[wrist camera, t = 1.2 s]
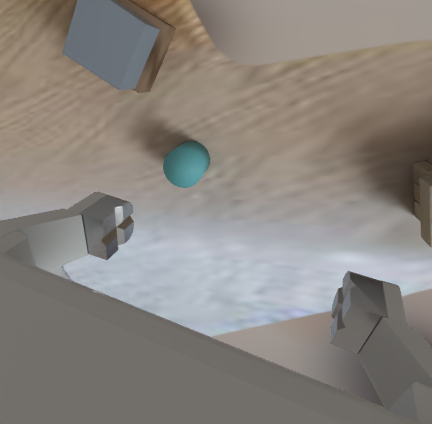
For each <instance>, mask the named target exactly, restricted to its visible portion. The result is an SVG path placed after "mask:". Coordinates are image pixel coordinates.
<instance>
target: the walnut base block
mask: <svg viewBox="0 0 432 424" xmlns="http://www.w3.org/2000/svg"><path fill="white" fill-rule="evenodd" d="M117 1H118V2H120V3H121V4H123V5H124V6H125V7H127V8H128V9H130V10H131V11H133V12H134V13H136V14H137V15H139V16H140V17H142V18H143V19H145V20H146V21H148V22H149V23H151V24H152V25H154V26H155V27H157V28H158V29H160V31H159V33H158V35H157V38H156V40H155V42H154V45H153V47H152V50H151V52H150V54H149V57H148V59H147V61H146V64H145V66H144V68H143V71H142V73H141V76H140V78H139V80H138V83H137V85H136V87H135V89H133V90H135V91H136V92H138V93H142V92H150V90H151V88H152V86H153V83H154V81H155V78H156V76H157V74H158V71H159V69H160V66H161V64H162V62H163V59H164V57H165V54H166V52H167V49H168V47H169V45H170V42H171V40H172V37H173V35H174V33H175V30H176V29H175V28H174V27H172V26H171V25H169V24H168V23H166V22H164V21H163V20H161V19H160V18H158V17H157V16H155V15H153V14H152V13H150V12H149V11H147V10H145V9H144V8H142V7H141V6H139V5H138V4H136V3H134V2H133V1H131V0H117Z"/></svg>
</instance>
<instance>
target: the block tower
mask: <svg viewBox="0 0 432 424" xmlns="http://www.w3.org/2000/svg"><path fill="white" fill-rule="evenodd" d="M412 167H413V181H414V199H415V200H416V201H415V202H414V205H415V217H416V218H417V219H419V220H420V221H421V237H422V238H423V239H424V241H425V242H426V243H427V244H428V245H429V246H430V247H432V159H429V160H426V161H421V162H416V163H413V164H412Z"/></svg>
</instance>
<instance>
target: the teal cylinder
mask: <svg viewBox="0 0 432 424" xmlns="http://www.w3.org/2000/svg"><path fill="white" fill-rule="evenodd" d="M209 163H210V157H209V153H208V151H207V149H206V148H205V147H204V146H203V145H202V144H200V143H198V142H196V141H187V142H184V143H182V144H181V145H180V146H178V147H177V148H175V149H174V150H173V151H171V152H170V153H169V154H168V155H167V156H166V158H165V160H164V164H163V169H164V173H165V175H166V177H167V179H168V180H169V181H170V182H171V183H172V184H174V185H176V186H178V187H182V188H187V187H191V186H193V185H195V184H196V183H197V182H198V181H199V179H200V178H201V177H202V175H203V174H204V173H205V171H206V170H207V168H208V166H209Z"/></svg>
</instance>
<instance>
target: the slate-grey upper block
mask: <svg viewBox="0 0 432 424" xmlns="http://www.w3.org/2000/svg"><path fill="white" fill-rule="evenodd" d="M159 31H160V29H158V28H157V27H155V26H154V25H152V24H151V23H149V22H148V21H146V20H145V19H143V18H142V17H140V16H139V15H137V14H136V13H134V12H133V11H131V10H130V9H128V8H127V7H125V6H124V5H123V4H121V3H120V2H118V1H117V0H77V3H76V7H75V10H74V14H73V17H72V21H71V24H70V27H69V31H68V34H67V38H66V41H65V45H64V48H63V52H62V53H63V54H65V55H66V56H68V57H69V58H71V59H72V60H74V61H75V62H77V63H78V64H80V65H81V66H83V67H85V68H86V69H88V70H89V71H91V72H92V73H94V74H95V75H97V76H98V77H100V78H101V79H103V80H105V81H106V82H108V83H109V84H111V85H112V86H114V87H115V88H117V89H118V90H126V89H135V87H136V85H137V83H138V80H139V78H140V76H141V73H142V71H143V68H144V66H145V64H146V61H147V59H148V57H149V54H150V52H151V50H152V47H153V45H154V42H155V40H156V38H157V35H158V33H159Z"/></svg>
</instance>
